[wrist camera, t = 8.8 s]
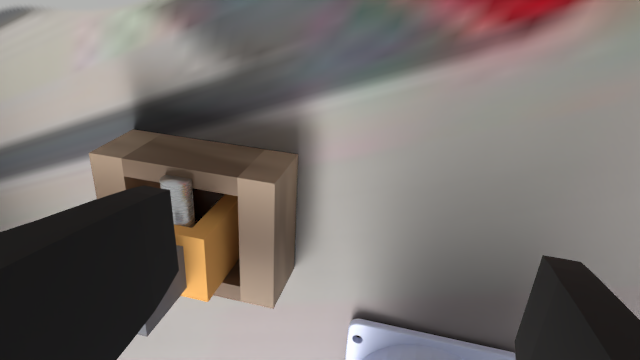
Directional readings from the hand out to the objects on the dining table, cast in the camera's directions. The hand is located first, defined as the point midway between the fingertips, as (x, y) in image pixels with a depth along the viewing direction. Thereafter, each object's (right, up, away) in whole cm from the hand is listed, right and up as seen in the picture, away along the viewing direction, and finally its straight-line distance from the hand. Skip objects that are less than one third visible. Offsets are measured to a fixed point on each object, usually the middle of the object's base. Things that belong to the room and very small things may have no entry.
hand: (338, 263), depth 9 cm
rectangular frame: (-5, +1, +13) cm, 14 cm away
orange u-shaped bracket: (-5, 0, +13) cm, 14 cm away
